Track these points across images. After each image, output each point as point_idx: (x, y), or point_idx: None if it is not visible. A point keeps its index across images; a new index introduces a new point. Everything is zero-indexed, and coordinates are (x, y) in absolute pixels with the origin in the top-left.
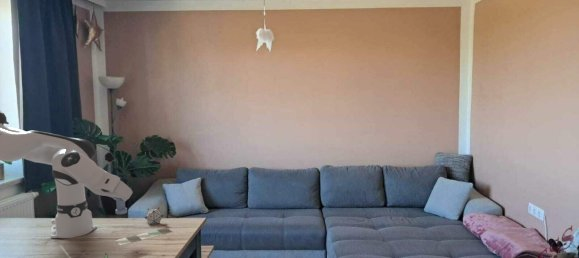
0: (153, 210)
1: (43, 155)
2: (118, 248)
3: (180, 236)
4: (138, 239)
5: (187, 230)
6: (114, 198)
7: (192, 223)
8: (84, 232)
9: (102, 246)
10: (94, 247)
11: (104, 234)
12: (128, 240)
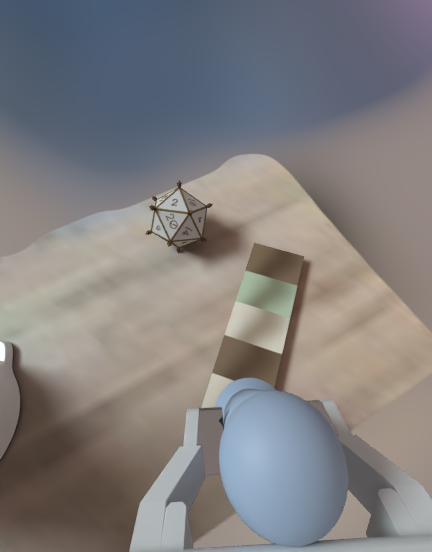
0: (189, 210)
1: None
2: None
3: (336, 260)
4: (268, 359)
5: (310, 221)
6: (209, 468)
7: (274, 182)
8: (9, 419)
9: None
10: None
11: (90, 372)
12: None
